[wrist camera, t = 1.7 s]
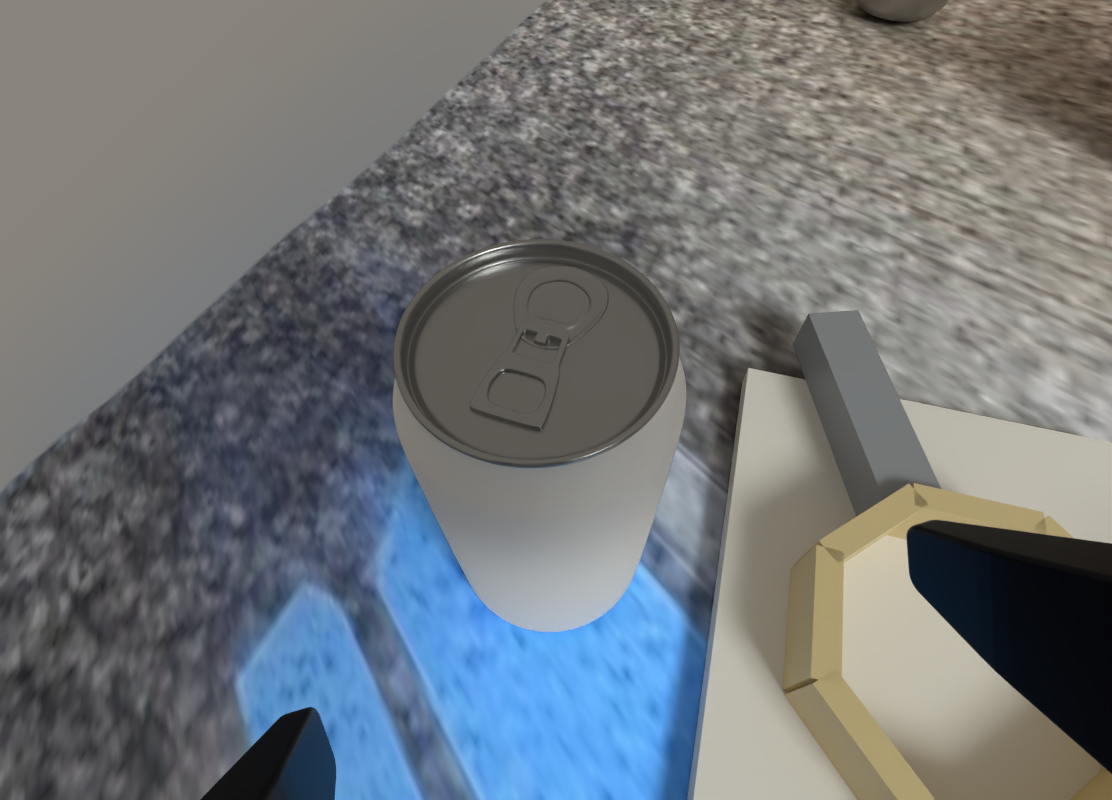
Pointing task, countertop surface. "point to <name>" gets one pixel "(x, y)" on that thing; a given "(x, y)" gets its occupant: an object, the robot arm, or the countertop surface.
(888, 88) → the countertop surface
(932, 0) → the plastic bottle
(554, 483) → the can
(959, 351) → the countertop surface
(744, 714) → the octagonal ring fixture plate
